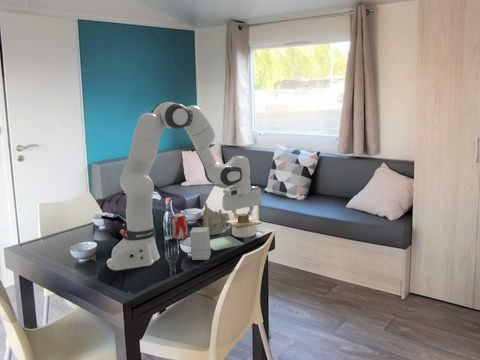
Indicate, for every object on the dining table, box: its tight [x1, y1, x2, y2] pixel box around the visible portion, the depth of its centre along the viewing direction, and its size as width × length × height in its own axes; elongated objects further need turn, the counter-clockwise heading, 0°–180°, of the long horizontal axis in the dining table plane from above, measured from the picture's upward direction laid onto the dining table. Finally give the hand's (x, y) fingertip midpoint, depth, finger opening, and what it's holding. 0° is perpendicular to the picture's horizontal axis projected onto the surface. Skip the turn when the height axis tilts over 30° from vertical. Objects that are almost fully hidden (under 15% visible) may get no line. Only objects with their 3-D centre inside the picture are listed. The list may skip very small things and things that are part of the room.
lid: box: [226, 212, 263, 228], centre depth 230 cm, size 13×13×4 cm
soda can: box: [171, 212, 188, 240], centre depth 230 cm, size 7×7×12 cm
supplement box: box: [189, 226, 212, 261], centre depth 202 cm, size 7×7×13 cm
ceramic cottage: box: [202, 202, 232, 236], centre depth 241 cm, size 16×16×15 cm
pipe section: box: [231, 225, 257, 238], centre depth 231 cm, size 12×12×6 cm
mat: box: [210, 235, 245, 251], centre depth 220 cm, size 15×15×1 cm
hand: (243, 216), depth 230 cm, fingers open, 6 cm apart
